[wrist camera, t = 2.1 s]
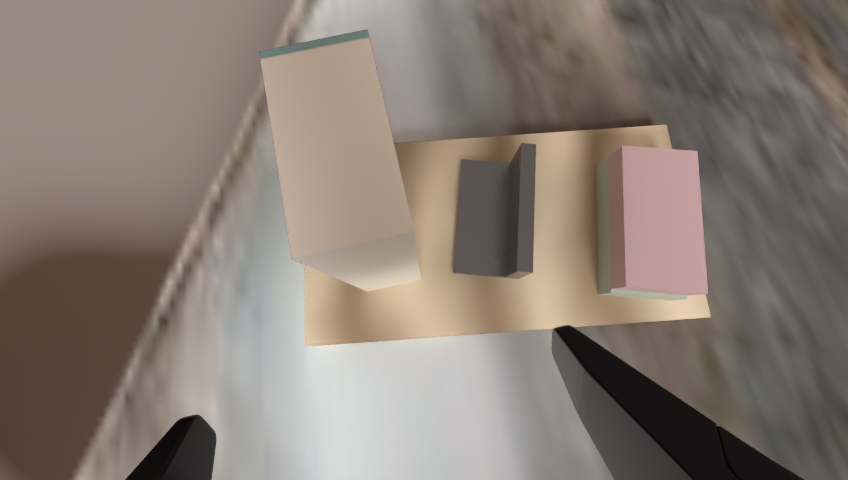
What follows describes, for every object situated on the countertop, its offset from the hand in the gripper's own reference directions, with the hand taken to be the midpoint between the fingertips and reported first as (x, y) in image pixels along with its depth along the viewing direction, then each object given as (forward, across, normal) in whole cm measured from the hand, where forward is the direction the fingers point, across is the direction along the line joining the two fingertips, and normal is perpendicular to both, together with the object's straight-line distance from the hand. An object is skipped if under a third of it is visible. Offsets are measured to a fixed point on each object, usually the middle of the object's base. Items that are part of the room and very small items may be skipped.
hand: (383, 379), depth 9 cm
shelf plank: (+13, -7, +5) cm, 15 cm away
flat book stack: (+11, -14, +6) cm, 19 cm away
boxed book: (+13, 0, +4) cm, 13 cm away
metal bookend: (+12, -6, +4) cm, 15 cm away
